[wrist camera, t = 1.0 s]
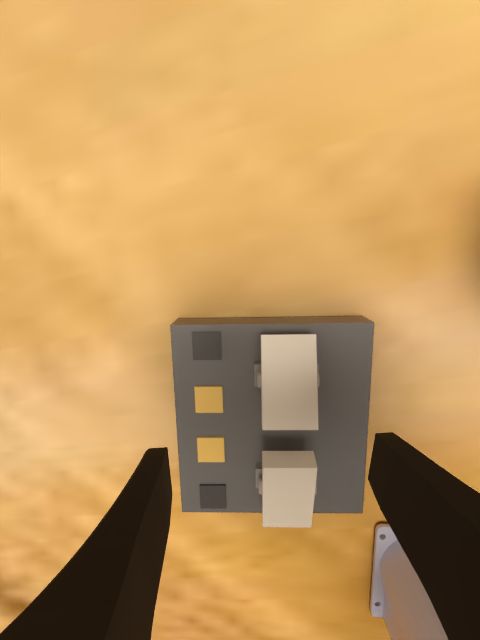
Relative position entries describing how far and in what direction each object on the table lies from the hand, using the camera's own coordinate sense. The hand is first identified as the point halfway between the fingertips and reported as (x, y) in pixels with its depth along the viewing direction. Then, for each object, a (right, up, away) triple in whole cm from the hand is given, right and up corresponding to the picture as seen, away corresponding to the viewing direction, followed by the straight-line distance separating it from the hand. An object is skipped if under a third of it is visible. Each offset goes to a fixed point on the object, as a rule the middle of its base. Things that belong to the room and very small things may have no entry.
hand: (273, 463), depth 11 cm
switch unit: (+1, -2, +15) cm, 15 cm away
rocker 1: (+2, +1, +10) cm, 11 cm away
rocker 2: (+2, -7, +12) cm, 14 cm away
